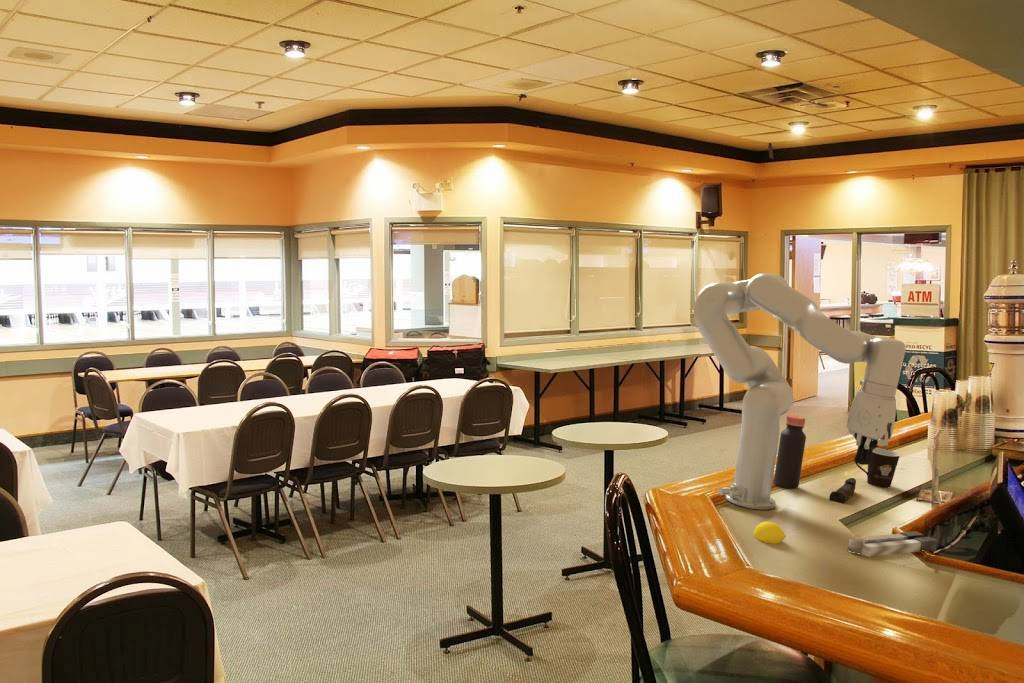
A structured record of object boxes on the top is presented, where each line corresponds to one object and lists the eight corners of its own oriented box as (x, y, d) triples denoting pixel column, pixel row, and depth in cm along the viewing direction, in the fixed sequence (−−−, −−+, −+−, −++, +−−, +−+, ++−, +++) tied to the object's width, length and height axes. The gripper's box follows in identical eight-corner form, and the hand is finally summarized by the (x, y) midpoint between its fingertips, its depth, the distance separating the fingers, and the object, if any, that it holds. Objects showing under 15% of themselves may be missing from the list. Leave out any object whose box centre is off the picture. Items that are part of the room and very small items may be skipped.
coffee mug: (896, 485, 246) (901, 453, 245) (892, 491, 239) (897, 458, 237) (855, 475, 252) (860, 444, 251) (850, 481, 245) (855, 449, 243)
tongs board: (871, 571, 172) (874, 554, 172) (801, 536, 190) (803, 520, 190) (959, 561, 184) (962, 544, 184) (885, 528, 202) (887, 514, 202)
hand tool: (843, 508, 217) (846, 491, 216) (827, 504, 219) (830, 487, 219) (862, 495, 232) (864, 479, 232) (847, 491, 235) (850, 475, 234)
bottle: (803, 488, 232) (813, 419, 229) (788, 490, 228) (798, 420, 225) (783, 480, 237) (793, 413, 235) (768, 482, 233) (778, 414, 231)
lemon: (750, 546, 181) (750, 522, 181) (756, 540, 186) (757, 517, 185) (782, 551, 177) (782, 527, 177) (788, 545, 182) (788, 521, 182)
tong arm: (864, 551, 181) (866, 539, 180) (856, 547, 183) (858, 536, 182) (921, 545, 189) (923, 534, 188) (913, 541, 191) (915, 531, 190)
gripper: (842, 381, 199) (827, 453, 202) (893, 397, 185) (876, 474, 188) (864, 382, 202) (848, 453, 205) (916, 398, 189) (898, 474, 192)
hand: (862, 463), depth 197 cm, fingers closed
